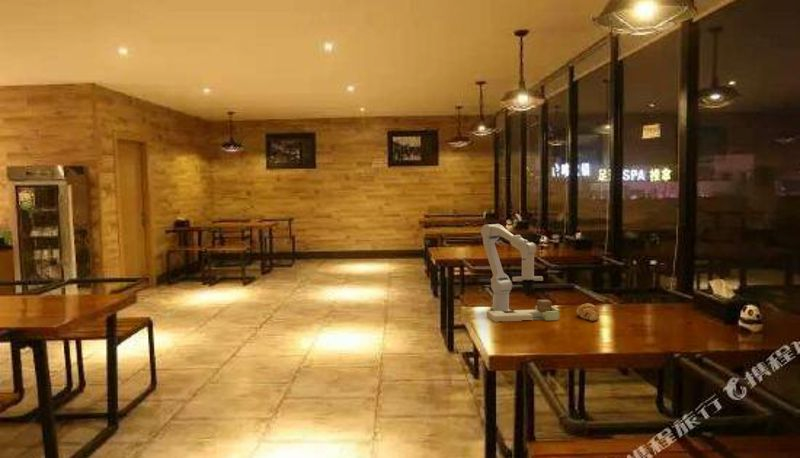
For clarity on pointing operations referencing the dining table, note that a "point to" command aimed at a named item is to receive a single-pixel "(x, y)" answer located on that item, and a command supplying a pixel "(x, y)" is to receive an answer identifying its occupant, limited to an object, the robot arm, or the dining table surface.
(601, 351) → the dining table surface
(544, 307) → the walnut block
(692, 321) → the dining table surface
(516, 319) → the board
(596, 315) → the croissant
